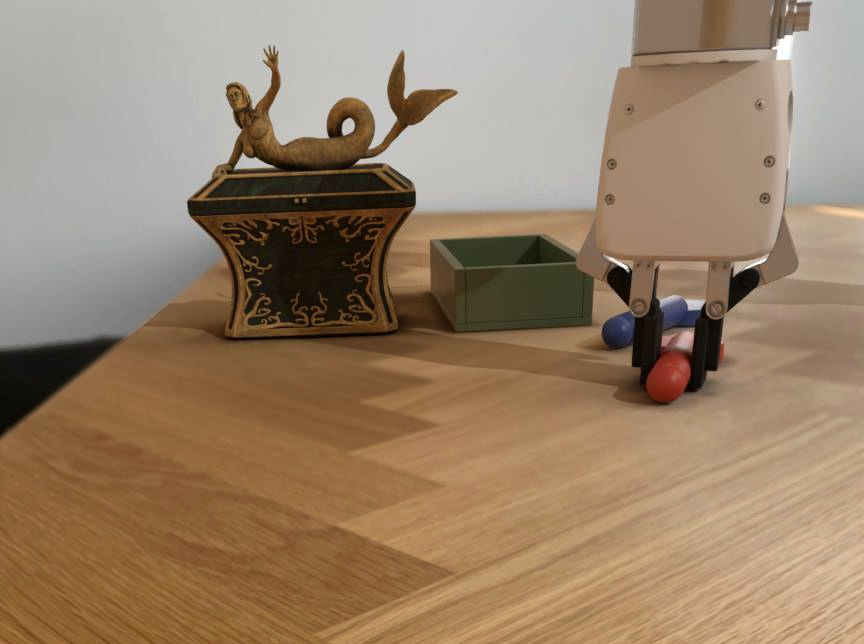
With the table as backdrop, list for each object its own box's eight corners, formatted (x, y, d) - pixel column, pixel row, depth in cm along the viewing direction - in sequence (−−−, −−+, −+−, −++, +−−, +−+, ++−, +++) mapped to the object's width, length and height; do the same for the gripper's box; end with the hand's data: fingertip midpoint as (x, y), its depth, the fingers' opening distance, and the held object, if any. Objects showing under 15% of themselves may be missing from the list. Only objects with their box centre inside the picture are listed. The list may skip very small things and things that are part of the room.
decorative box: (200, 344, 80) (166, 48, 71) (219, 319, 88) (190, 53, 79) (462, 334, 79) (461, 35, 70) (455, 310, 88) (453, 41, 79)
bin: (544, 286, 97) (545, 233, 95) (591, 325, 81) (595, 262, 79) (430, 292, 97) (429, 239, 95) (455, 332, 80) (455, 269, 78)
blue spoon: (667, 313, 84) (670, 284, 83) (723, 318, 81) (726, 288, 80) (579, 348, 74) (581, 316, 73) (639, 355, 71) (642, 321, 70)
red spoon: (656, 350, 72) (659, 317, 71) (725, 353, 71) (729, 319, 70) (620, 404, 60) (623, 366, 59) (703, 409, 59) (707, 370, 58)
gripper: (868, 26, 56) (815, 373, 64) (570, 43, 61) (557, 361, 70) (870, 21, 49) (812, 405, 58) (538, 40, 55) (529, 389, 63)
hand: (673, 378), depth 64 cm, fingers closed on red spoon, 2 cm apart
